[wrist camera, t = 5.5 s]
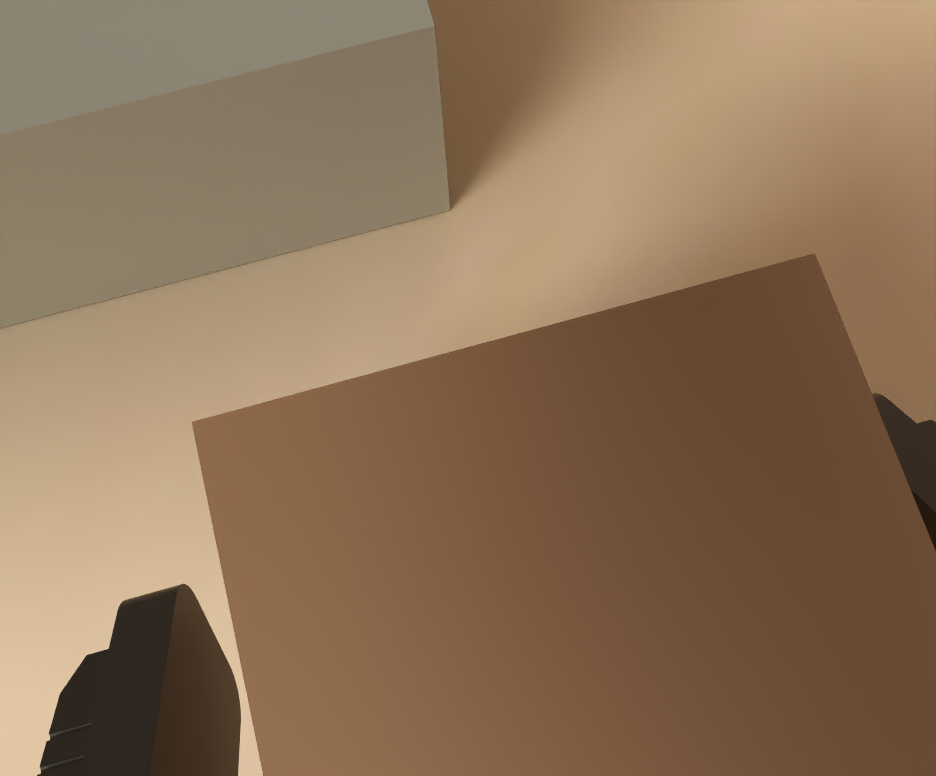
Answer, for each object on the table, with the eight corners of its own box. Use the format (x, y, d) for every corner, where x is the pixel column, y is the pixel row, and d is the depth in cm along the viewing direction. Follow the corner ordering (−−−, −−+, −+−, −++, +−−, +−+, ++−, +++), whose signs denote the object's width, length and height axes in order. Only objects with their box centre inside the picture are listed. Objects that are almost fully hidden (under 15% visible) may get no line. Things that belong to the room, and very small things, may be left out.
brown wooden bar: (446, 778, 16) (344, 1181, 4) (391, 559, 17) (190, 421, 5) (659, 714, 16) (1095, 944, 5) (592, 502, 17) (814, 254, 6)
